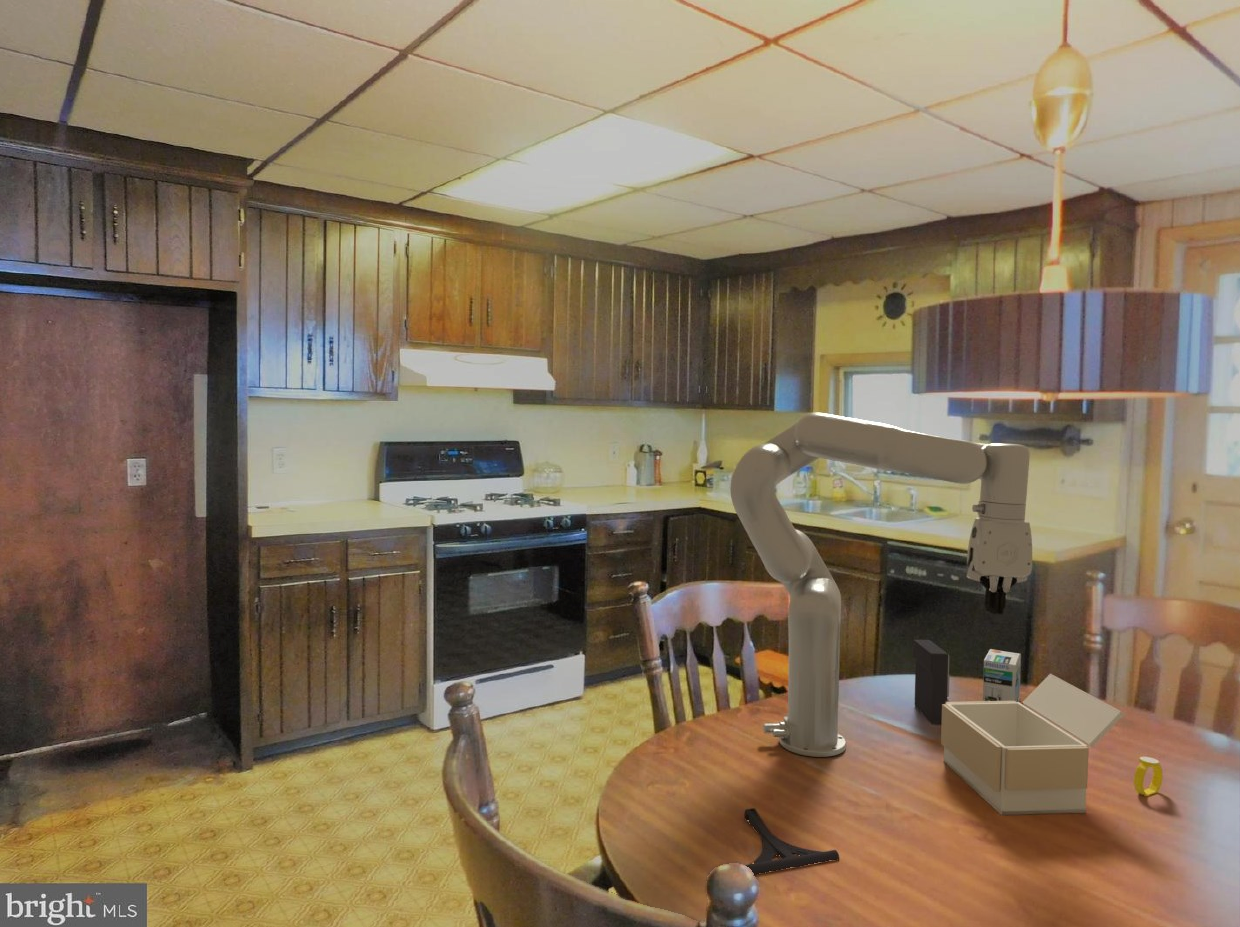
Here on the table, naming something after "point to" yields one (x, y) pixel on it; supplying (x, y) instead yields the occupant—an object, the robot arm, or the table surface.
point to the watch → (1140, 773)
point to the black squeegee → (781, 850)
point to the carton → (1015, 757)
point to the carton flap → (1073, 709)
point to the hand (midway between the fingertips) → (994, 612)
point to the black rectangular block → (931, 679)
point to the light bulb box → (1001, 676)
